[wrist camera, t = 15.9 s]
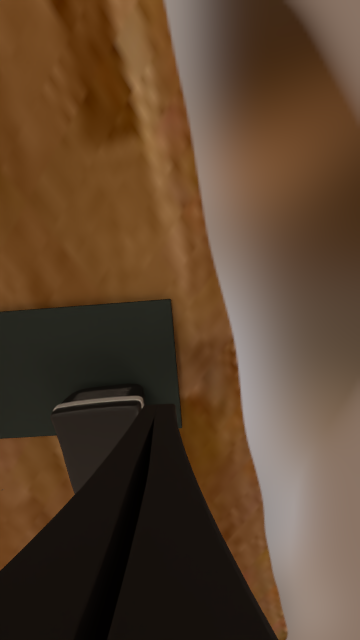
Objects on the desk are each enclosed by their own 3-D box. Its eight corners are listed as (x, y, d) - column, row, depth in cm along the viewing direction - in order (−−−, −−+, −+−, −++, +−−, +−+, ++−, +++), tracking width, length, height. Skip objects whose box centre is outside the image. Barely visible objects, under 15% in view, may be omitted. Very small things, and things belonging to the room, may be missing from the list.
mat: (-22, 435, 18) (-28, 440, 18) (-70, 316, 15) (-79, 318, 15) (181, 424, 18) (181, 428, 17) (170, 298, 15) (170, 299, 14)
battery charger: (73, 382, 17) (101, 479, 20) (42, 413, 13) (82, 527, 16) (149, 374, 17) (167, 473, 19) (140, 403, 13) (164, 521, 16)
